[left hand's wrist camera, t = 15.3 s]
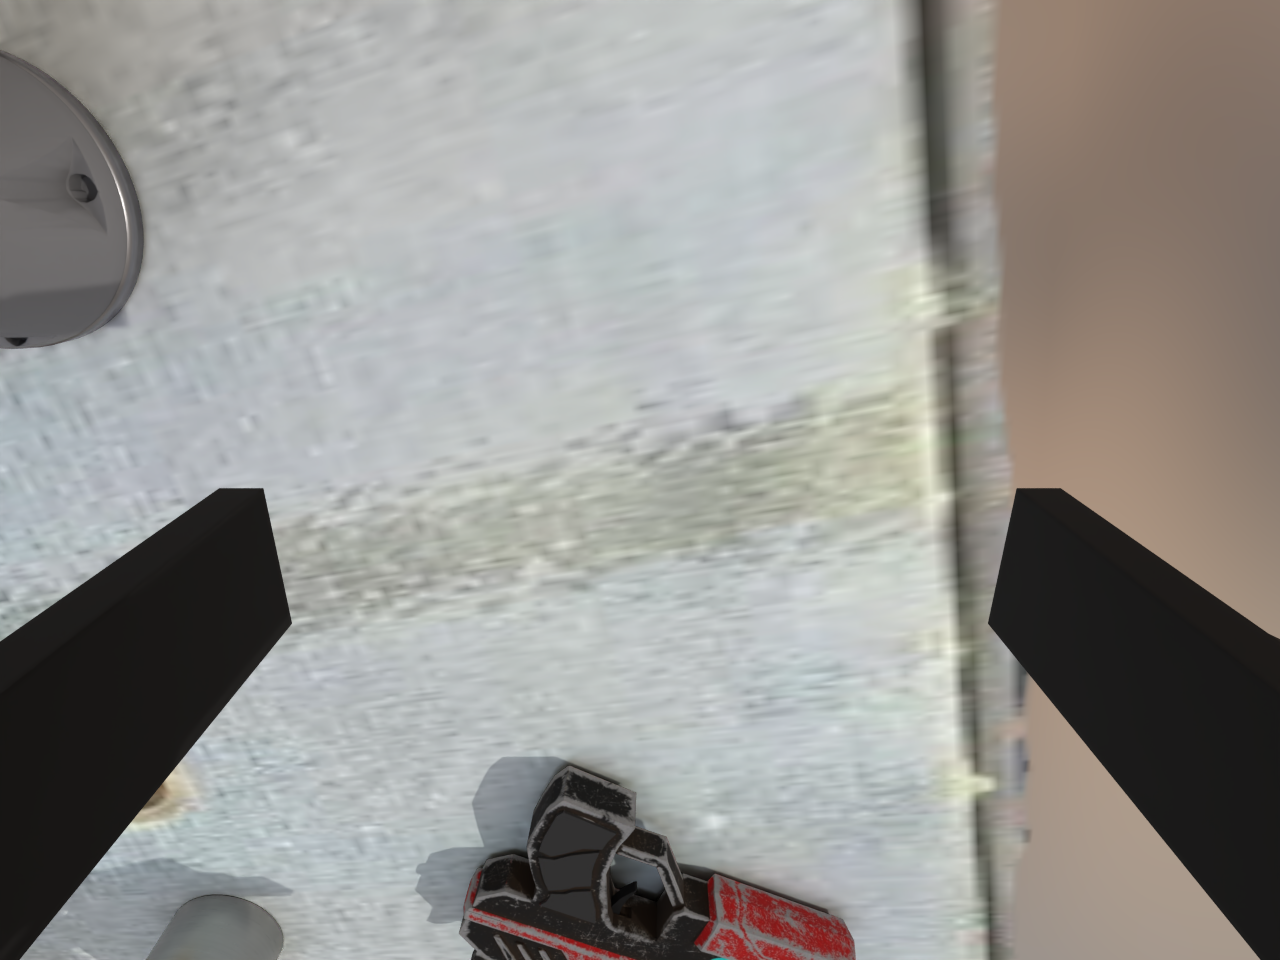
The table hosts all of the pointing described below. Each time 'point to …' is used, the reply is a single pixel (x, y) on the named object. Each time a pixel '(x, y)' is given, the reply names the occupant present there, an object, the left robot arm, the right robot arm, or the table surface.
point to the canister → (219, 932)
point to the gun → (626, 895)
